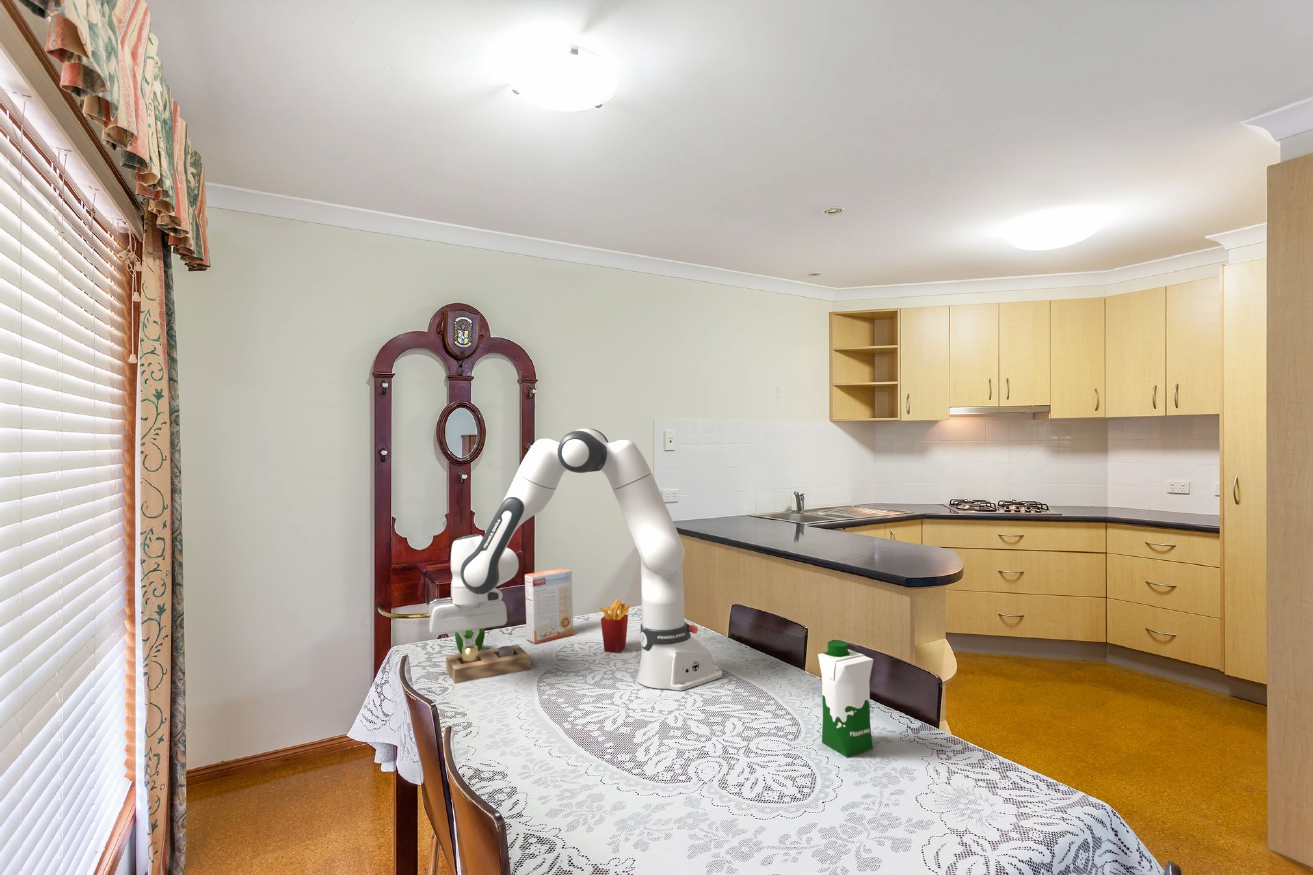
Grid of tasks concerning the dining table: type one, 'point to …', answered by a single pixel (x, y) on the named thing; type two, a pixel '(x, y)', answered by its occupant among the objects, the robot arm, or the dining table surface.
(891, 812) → the dining table surface
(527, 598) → the cracker box
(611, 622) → the french fries
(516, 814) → the dining table surface
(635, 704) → the dining table surface
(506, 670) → the jig
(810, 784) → the dining table surface
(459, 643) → the bell pepper
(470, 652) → the bushing
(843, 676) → the milk carton
